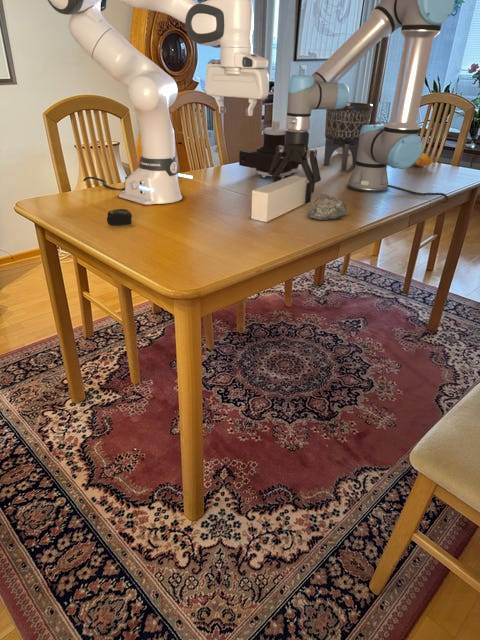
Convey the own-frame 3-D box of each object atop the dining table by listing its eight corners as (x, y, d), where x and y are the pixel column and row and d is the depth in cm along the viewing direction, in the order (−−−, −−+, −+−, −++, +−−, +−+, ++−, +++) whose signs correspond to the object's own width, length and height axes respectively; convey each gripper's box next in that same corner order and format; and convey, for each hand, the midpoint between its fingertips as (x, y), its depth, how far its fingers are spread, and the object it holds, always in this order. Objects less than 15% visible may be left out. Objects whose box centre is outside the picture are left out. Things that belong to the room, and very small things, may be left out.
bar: (290, 200, 159) (292, 175, 155) (304, 203, 157) (306, 177, 152) (251, 218, 141) (252, 190, 137) (266, 222, 138) (267, 193, 134)
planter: (313, 167, 208) (319, 103, 195) (331, 160, 222) (338, 101, 209) (353, 173, 199) (362, 107, 185) (369, 166, 213) (379, 104, 199)
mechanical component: (240, 120, 182) (283, 115, 202) (239, 174, 192) (280, 164, 212) (283, 126, 170) (325, 120, 190) (280, 183, 180) (320, 171, 200)
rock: (331, 208, 151) (334, 189, 147) (352, 215, 145) (356, 195, 142) (304, 216, 143) (306, 195, 140) (325, 223, 137) (328, 202, 134)
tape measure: (107, 228, 130) (105, 215, 128) (109, 220, 136) (108, 208, 134) (131, 227, 131) (130, 214, 129) (133, 220, 137) (131, 207, 135)
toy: (408, 159, 210) (402, 152, 223) (410, 173, 213) (404, 165, 225) (433, 152, 207) (426, 145, 219) (435, 165, 210) (428, 158, 222)
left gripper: (199, 59, 128) (200, 112, 135) (261, 60, 118) (258, 118, 125) (213, 59, 133) (213, 110, 140) (273, 60, 123) (270, 116, 130)
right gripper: (259, 128, 146) (257, 196, 157) (326, 135, 135) (318, 208, 146) (271, 125, 151) (268, 191, 162) (336, 132, 140) (328, 203, 151)
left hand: (235, 114), depth 133 cm, fingers open, 8 cm apart
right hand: (292, 199), depth 154 cm, fingers open, 11 cm apart
